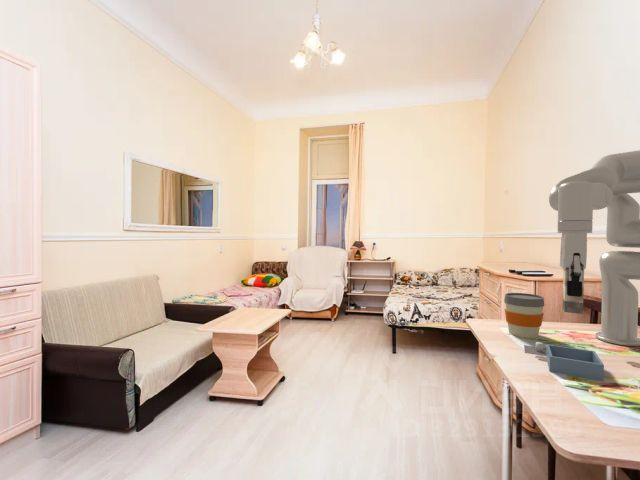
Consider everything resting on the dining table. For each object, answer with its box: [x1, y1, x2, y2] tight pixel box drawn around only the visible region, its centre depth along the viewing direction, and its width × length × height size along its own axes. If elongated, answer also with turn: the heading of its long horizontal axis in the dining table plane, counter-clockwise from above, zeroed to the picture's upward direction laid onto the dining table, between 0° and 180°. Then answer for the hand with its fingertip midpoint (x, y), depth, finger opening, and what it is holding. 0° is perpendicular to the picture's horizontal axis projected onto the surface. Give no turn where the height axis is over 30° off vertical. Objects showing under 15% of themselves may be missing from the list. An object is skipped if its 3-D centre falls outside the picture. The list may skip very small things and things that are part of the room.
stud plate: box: [523, 341, 546, 357], centre depth 104 cm, size 8×8×4 cm
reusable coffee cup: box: [503, 292, 545, 339], centre depth 122 cm, size 12×13×15 cm
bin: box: [545, 343, 605, 382], centre depth 91 cm, size 11×11×5 cm
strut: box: [562, 267, 585, 315], centre depth 91 cm, size 4×4×12 cm
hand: (573, 294), depth 91 cm, fingers closed on strut, 4 cm apart
